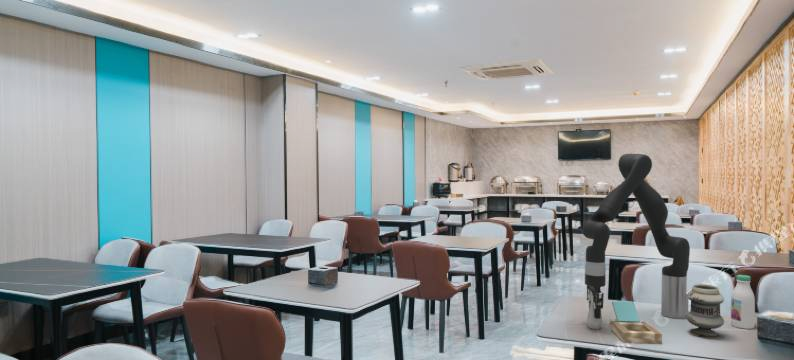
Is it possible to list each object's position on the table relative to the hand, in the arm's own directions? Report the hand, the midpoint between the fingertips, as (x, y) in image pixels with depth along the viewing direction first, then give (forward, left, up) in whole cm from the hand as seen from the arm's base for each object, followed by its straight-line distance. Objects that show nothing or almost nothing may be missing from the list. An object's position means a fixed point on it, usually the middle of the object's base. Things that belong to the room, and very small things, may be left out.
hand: (594, 315), depth 202 cm
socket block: (-12, +6, -5) cm, 14 cm away
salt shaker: (0, 0, -5) cm, 5 cm away
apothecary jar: (-39, +4, -5) cm, 40 cm away
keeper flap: (-12, -1, +1) cm, 12 cm away
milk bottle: (-59, -8, -5) cm, 59 cm away
